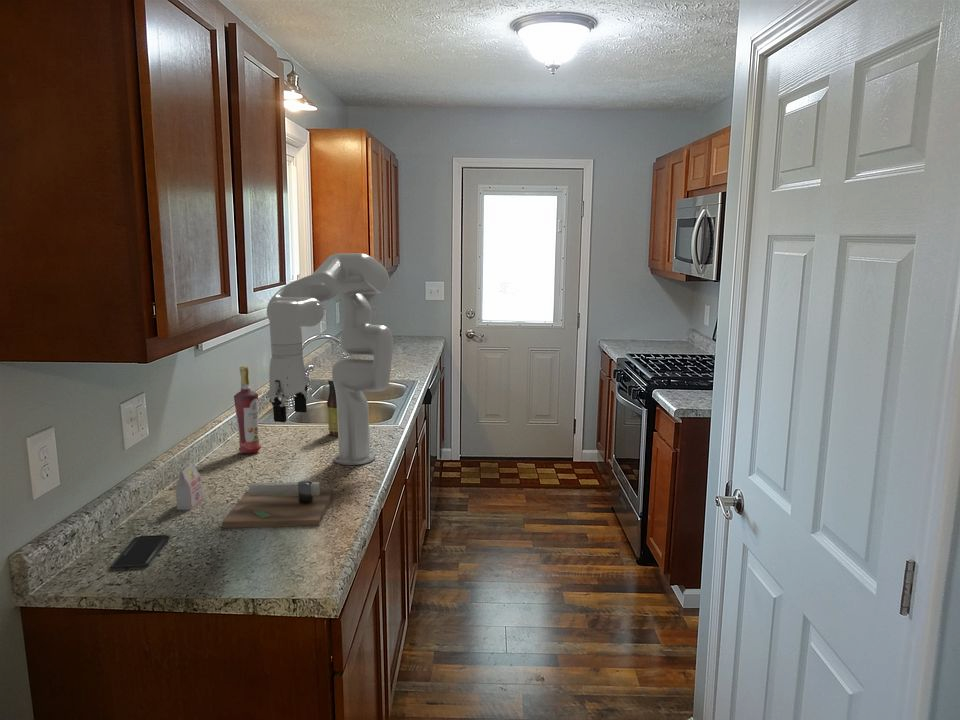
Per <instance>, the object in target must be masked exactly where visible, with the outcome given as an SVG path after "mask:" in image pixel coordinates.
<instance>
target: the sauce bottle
mask: <svg viewBox="0 0 960 720" xmlns="http://www.w3.org/2000/svg"><path fill="white" fill-rule="evenodd" d="M327 384H328V388H329V389H328V391H329V393H328V397H327V401H326V409H327V423H328V424H327V425H328V431H329V434H330V435H331V436H335V437H338V419H337V400H336V392H335V387H334V383H333V378H329V379H328V383H327Z"/></svg>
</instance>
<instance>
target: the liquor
mask: <svg viewBox="0 0 960 720" xmlns="http://www.w3.org/2000/svg"><path fill="white" fill-rule="evenodd" d="M249 371H250V370H249V366H245V365H244V366H240V367H239V373H240V391H238V392H237V393H236V394H235V395H234V396H233V400H234V409H235V417H236V424H237V434H238V441H239V442H238V445H239V448H238V451H239V452H240V453H242V454H243V455H253V454H257V452H259V451H260V450H261V448H262V447H261V445H260V433H259V430H260V429H259V427H260V426H259V394H258V393H257V392H256V391H253V390H251V384H250V379H249V374H250V373H249Z"/></svg>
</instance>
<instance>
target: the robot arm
mask: <svg viewBox="0 0 960 720" xmlns="http://www.w3.org/2000/svg"><path fill="white" fill-rule="evenodd" d="M388 272H389V271H388V270H387V269H386V267H385V266H384V265H383V264H382V263H380V262H379V261H377V260H376V259H375V258H374V257H372V256H370V255H368V254H366V253H357V252H356V253H349V252H348V253H345V252H344V253H341V252H340V253H339V252H338V253H333V254H331V255H330V256H328V257H327V258H326V259H325V260H324V261H323V262H322V263H321V264H320V265H319V266H318V268H317V269H316V270H314V272H313V273H312V274H310V275H307V276H303V277H302V278H299V279H298V280H295V281H293V282H290V283H288V284H286V285H284V286H283V287H281V288H280V289H279V290H278V291H276V293H275V294H274V295H273V296H272V297H271V298H270V300H269V301H268V304H267V306H266V316H267V319H268V321H269V334H270V335H269V336H270V338H269V339H270V349H271V350H270V351H271V357H270V361H269V373H268V374H269V376H268V377H269V380H268V381H269V383H268V384H269V390H267V395H268V398H269V402H270V403H271V407H272V411H273V412H272V413H273V421H274V422H275V423H286V422H287V409H286V408H287V406H286V405H285V403H286V399H287V398H290V397H291V396H294V395H295V396H294V397H293V403H294V406H293V407H294V412H295V413H307V412H308V410H307V409H308V408H307V396H308V393H307V391H308V386H309V385H308V384H309V377H307V375H306V369H305V363H304V357H303V355H304V354H303V350H304V349H303V333H302V327H304V328H305V327H309V328H310V327H314V326H317V325H318V324H320V323H321V322H322V321H323V318H324V315H325V310H324V309H325V308H324V305H323V304H322V303H323V302H327V301H330V300H332V299H334V298H335V297H336V296H337V295H339V297H340V299H341V301H342V305H343V319H342V320H343V321H342V330H341V338H340V339H341V340H340V347H341V350H342V351H343V352H344V353H345V354H347V355H352V356H365V357H366V356H367V357H372V356H373V359H363V358H362V359H361V358H360V359H359V358H344V359H341V360H338V361H337V362H335V363H334V365H333V367H332V368H331V369H332V370H331V376H332V378H333V383H334V387H335V392H336V400H337V419H338V436H337V437H338V439H337V440H338V453H336V454H335V455H334V456H333V459H334V462H335V463H337V464H339V465H343V466H357V465H358V466H359V465H364V464H365V465H366V464H368V463H370V462H373V461H374V460H375V458H376V453H375V452H374V451H372V450H371V444H370V442H371V441H370V438H371V437H370V417H369V416H370V415H369V402H368V399H367V397H366V396H365V394H364V392H383V391H385V390H386V389H387V388H388V387H389V383H390V378H391V369H392V360H393V352H394V351H393V350H394V337H393V333H392V330H391V328H389V327H388V326H386V325H382V324H372V318H373V317H372V315H373V309H372V307H371V304H370V302H369V301H368V299H366V297H365V295H366V294H367V295H380V294H383V293H385V292H386V291H387V290H388V288H389V286H390V274H389V273H388ZM363 294H364V295H363ZM332 378H331V379H332Z"/></svg>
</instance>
